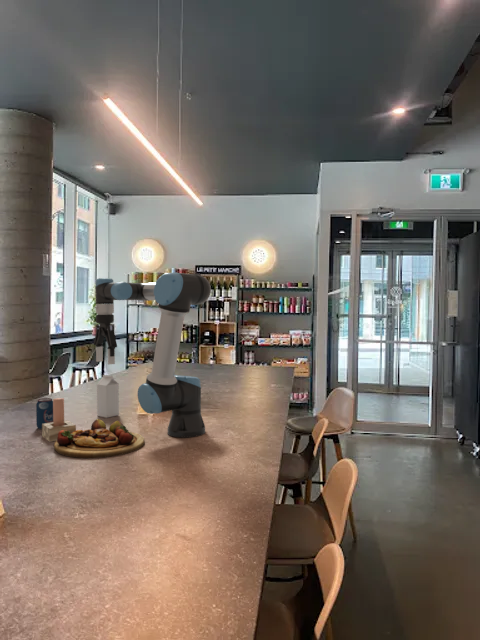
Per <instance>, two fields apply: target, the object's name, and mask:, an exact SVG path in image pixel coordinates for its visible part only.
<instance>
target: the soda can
mask: <svg viewBox="0 0 480 640" xmlns="http://www.w3.org/2000/svg"><path fill="white" fill-rule="evenodd" d="M35 407H36V409H35V411H36V415H35V417H36V428H37V429H39V430H42V424H44V423H52V422H53V398H51V397H49V398H47V397H45V398H39V399H37V402H36V405H35Z"/></svg>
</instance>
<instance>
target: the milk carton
mask: <svg viewBox="0 0 480 640" xmlns="http://www.w3.org/2000/svg"><path fill="white" fill-rule="evenodd" d="M119 387H120V386H119V383H118V382H117V381H116V380H115V379H114V376H113V375H105V374H102V378H101V379H99V381H98V382H97V384H96V409H97V410H96V414H97V415H96V416H97V417H101V418H105V419H106V418H112V417H115V416H116V417H117V416H119V415H120V405H119V403H120V400H119V399H120V397H119V395H120V394H119V392H120V391H119V390H120V388H119Z"/></svg>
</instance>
